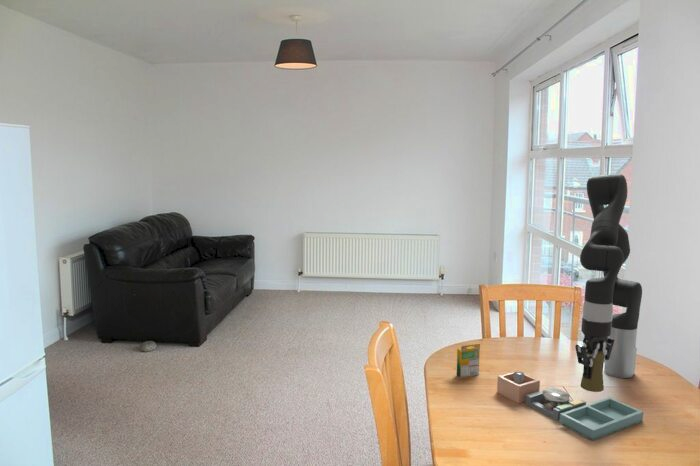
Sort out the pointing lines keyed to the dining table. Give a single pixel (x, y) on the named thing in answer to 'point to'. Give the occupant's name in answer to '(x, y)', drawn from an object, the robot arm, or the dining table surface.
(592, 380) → the olive gourd
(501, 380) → the cup
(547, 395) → the silver domed disc
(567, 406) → the checker cradle
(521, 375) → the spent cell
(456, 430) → the dining table surface
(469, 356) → the crayon box
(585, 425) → the teal divided tray
